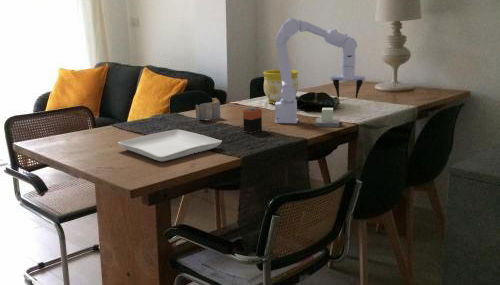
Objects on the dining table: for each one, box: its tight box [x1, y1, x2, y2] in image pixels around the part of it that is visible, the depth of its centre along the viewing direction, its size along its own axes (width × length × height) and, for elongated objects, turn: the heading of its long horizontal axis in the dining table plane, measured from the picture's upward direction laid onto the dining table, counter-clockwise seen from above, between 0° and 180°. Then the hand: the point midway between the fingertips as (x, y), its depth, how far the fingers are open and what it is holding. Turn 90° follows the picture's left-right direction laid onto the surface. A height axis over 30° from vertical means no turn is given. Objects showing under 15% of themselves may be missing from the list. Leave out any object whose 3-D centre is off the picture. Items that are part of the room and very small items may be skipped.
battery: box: [242, 106, 263, 132], centre depth 206 cm, size 4×7×10 cm, turn 136°
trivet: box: [314, 117, 341, 128], centre depth 217 cm, size 10×10×2 cm
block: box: [321, 107, 334, 122], centre depth 217 cm, size 4×4×5 cm
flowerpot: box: [262, 69, 299, 105], centre depth 267 cm, size 18×18×16 cm
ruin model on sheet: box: [195, 97, 221, 120], centre depth 231 cm, size 11×3×10 cm, turn 126°
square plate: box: [117, 129, 223, 162], centre depth 182 cm, size 27×27×4 cm
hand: (347, 97), depth 220 cm, fingers open, 7 cm apart
